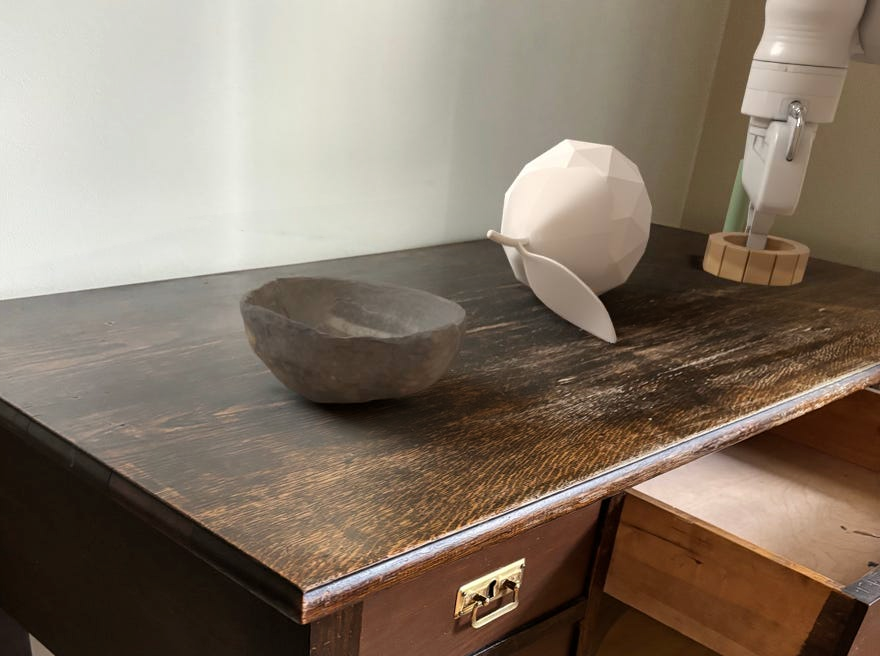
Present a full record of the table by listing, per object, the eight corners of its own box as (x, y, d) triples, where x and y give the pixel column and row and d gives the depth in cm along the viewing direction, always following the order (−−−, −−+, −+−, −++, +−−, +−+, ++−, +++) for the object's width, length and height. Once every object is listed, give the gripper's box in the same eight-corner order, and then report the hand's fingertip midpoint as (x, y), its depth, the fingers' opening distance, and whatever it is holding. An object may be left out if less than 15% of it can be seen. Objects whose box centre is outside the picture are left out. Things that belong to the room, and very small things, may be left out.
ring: (794, 268, 103) (802, 238, 101) (806, 290, 95) (815, 258, 93) (700, 257, 104) (707, 228, 103) (704, 278, 96) (712, 246, 95)
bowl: (488, 388, 84) (501, 294, 80) (405, 454, 71) (414, 345, 66) (308, 347, 90) (310, 257, 85) (198, 401, 76) (195, 297, 72)
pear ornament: (604, 100, 109) (498, 111, 89) (732, 251, 110) (656, 298, 89) (511, 211, 120) (397, 244, 100) (627, 349, 121) (538, 410, 100)
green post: (749, 271, 134) (778, 160, 126) (753, 284, 128) (785, 168, 120) (690, 264, 135) (716, 153, 127) (692, 276, 129) (720, 160, 121)
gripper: (841, 109, 85) (795, 272, 93) (810, 94, 102) (773, 233, 110) (768, 102, 86) (728, 264, 94) (749, 89, 103) (717, 227, 111)
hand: (752, 247), depth 102 cm, fingers closed on ring
